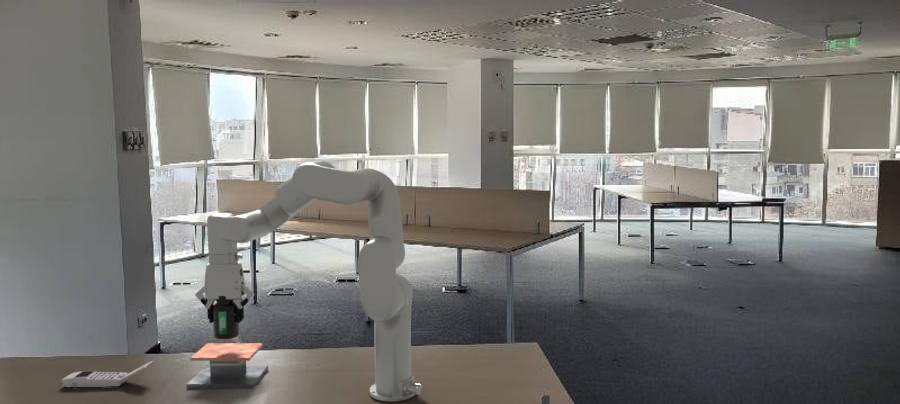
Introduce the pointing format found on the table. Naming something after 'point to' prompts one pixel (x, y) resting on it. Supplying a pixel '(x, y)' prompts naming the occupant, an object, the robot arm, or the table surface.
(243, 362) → the stand
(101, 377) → the mobile phone
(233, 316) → the supplement bottle
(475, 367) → the table surface
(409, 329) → the robot arm
